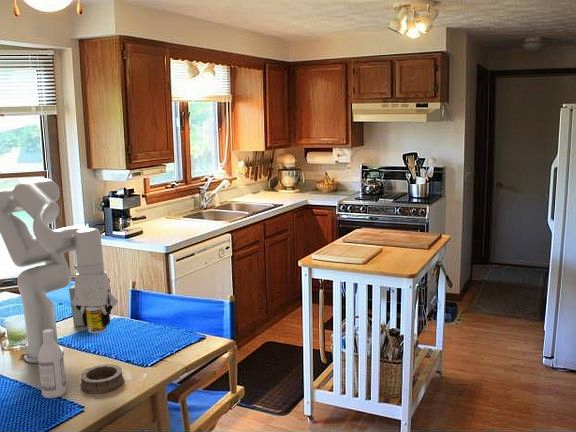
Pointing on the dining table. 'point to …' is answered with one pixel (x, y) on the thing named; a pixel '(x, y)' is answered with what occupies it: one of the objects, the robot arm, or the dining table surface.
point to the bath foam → (51, 367)
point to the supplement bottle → (94, 319)
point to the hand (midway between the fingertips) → (96, 324)
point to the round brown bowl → (101, 379)
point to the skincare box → (75, 309)
